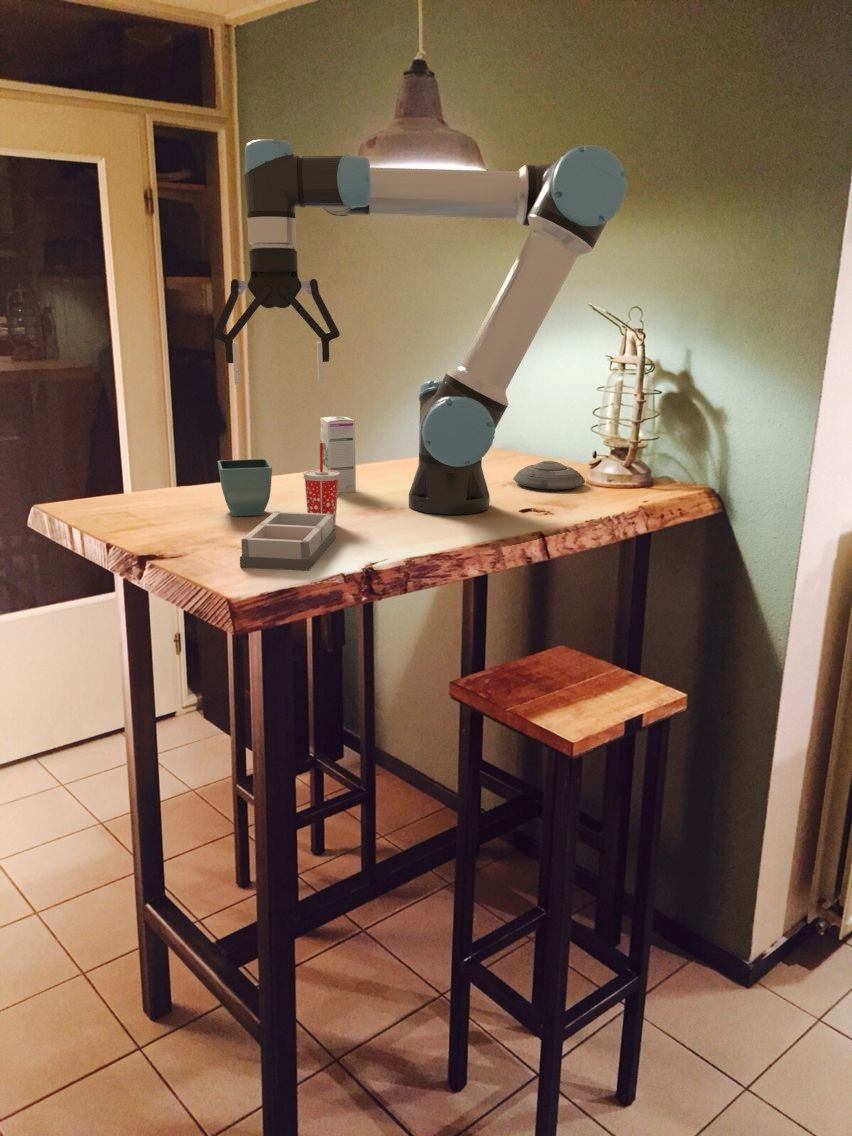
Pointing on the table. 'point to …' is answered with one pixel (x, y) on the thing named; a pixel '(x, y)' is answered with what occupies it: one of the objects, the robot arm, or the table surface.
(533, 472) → the flying saucer
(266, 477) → the flower pot
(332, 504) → the beverage cup
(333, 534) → the divided tray
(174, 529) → the table surface
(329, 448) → the syrup box
